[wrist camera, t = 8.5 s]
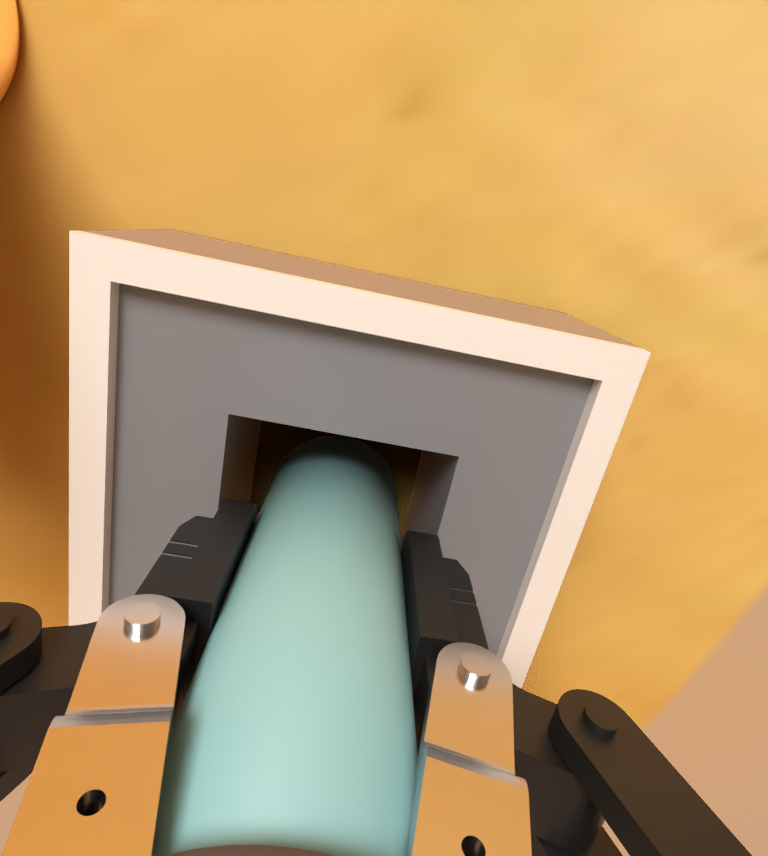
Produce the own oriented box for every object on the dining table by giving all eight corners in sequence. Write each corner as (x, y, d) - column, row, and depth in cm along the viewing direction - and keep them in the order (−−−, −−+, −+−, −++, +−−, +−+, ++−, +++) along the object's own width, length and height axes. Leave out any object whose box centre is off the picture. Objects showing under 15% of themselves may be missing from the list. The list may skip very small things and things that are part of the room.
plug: (420, 440, 15) (553, 1060, 4) (390, 564, 17) (422, 1278, 5) (272, 412, 15) (-55, 1006, 4) (254, 541, 16) (-21, 1257, 5)
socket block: (566, 313, 16) (651, 352, 11) (466, 623, 21) (496, 753, 16) (169, 228, 15) (69, 230, 10) (147, 573, 20) (68, 694, 14)
